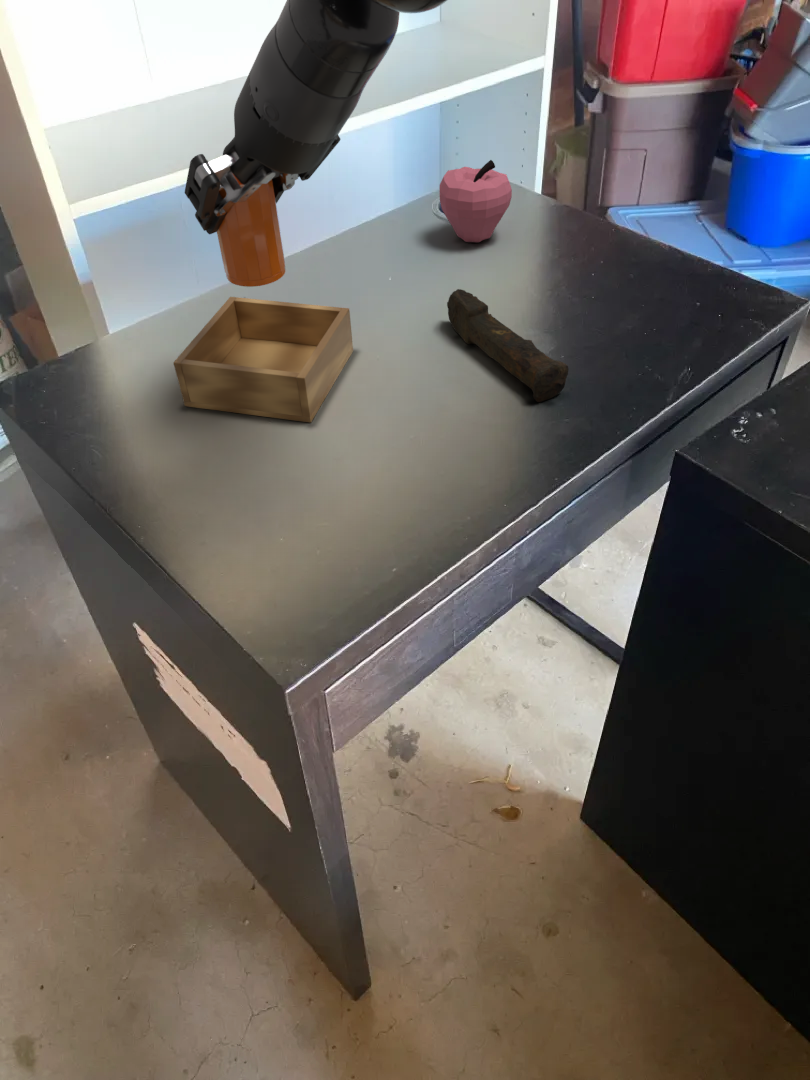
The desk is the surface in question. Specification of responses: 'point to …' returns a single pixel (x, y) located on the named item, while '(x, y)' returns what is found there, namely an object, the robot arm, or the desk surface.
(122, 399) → the desk surface
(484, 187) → the apple
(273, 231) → the orange cup
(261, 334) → the wooden tray
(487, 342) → the dark brown long bar
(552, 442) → the desk surface
